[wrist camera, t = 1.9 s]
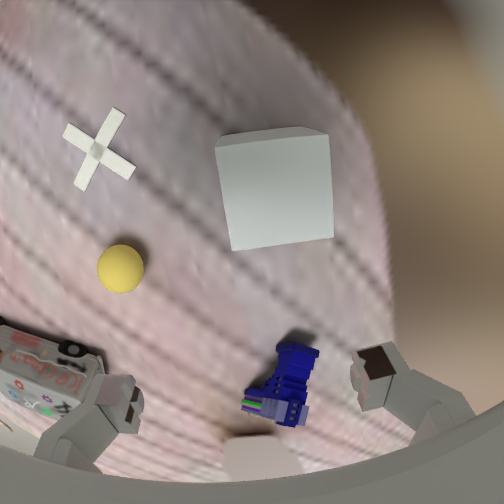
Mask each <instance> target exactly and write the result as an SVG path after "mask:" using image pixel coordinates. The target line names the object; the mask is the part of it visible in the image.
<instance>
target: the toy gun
mask: <svg viewBox="0 0 504 504" xmlns="http://www.w3.org/2000/svg"><path fill="white" fill-rule="evenodd" d="M275 351H277V352H278V353H279V357H278V358H280V359H279V363H278V367H276V369H275V373H274V374H273V375H272V378H269V379H268V381H267V380H265V384H264V386H262V388H254V387H250V388H249V389H246V390H245V393H244V394H245V397H244V399H242V402H241V404H242V408H241V410H243V411H246V412H248V415H252V416H254V417H259V418H260V416H262V417H266V418H269V419H270V422H274V423H276V424H279V425H282V426H289V427H294V428H295V426H296V425H303V426H305V422H306V418H307V414H308V410H309V406H305V402H306V398H307V394H308V392H306V390H307V386H306V381H307V379H309V377H310V372H311V370H313V367H314V362H315V358H318V357H319V352H320V351H319V350H317V349H314V348H311V347H308V346H304V345H301V344H298V343H292V342H290V343H285V344H279V345H277V346H276V350H275Z"/></svg>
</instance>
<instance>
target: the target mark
mask: <svg viewBox="0 0 504 504" xmlns="http://www.w3.org/2000/svg"><path fill="white" fill-rule="evenodd" d="M125 116H126V115H125V114H123V113H122V112H120V111H119V110H117V109H115V108H114V107H113V108H112V110H111V112H110V113H109V115H108V117H107V118H106V120H105V122H104V124H103V126H102V127H101V129H100V131H99V133H98V135H97V136H96V138H95V139H94V138H92V137H91V136H89V135H87V134H86V133H84V132H83V131H81V130H80V129H78V128H77V127H75V126H74V125H72V124H71V123H69V124H68V126H67V128H66V130H65V132H64V134H63V136H62V137H63V138H65V139H66V140H68V141H69V142H71V143H72V144H74V145H75V146H77V147H78V148H80V149H81V150H83V151H84V152H86V153H87V156H86V158H85V160H84V162H83V164H82V166H81V168H80V170H79V173H78V175H77V177H76V179H75V181H74V185H76V186H77V187H79V188H80V189H81V190H83V191H84V192H85V191H86V189H87V187H88V184H89V182H90V180H91V178H92V176H93V174H94V172H95V170H96V168H97V166H98V164H99V162H101V163H102V164H104V165H105V166H107V167H108V168H110V169H111V170H113V171H114V172H116V173H117V174H119V175H120V176H122V177H123V178H125V179H126V180H129V179H130V177H131V175H132V173H133V172H134V170H135V168H136V166H135V165H133V164H132V163H130V162H129V161H127V160H126V159H124V158H122V157H121V156H119V155H118V154H116V153H115V152H113V151H112V150H110V149H109V148H107V147H108V146H109V144H110V142H111V140H112V138H113V137H114V135H115V133H116V131H117V130H118V128H119V126H120V125H121V123H122V121H123V120H124V118H125Z"/></svg>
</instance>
